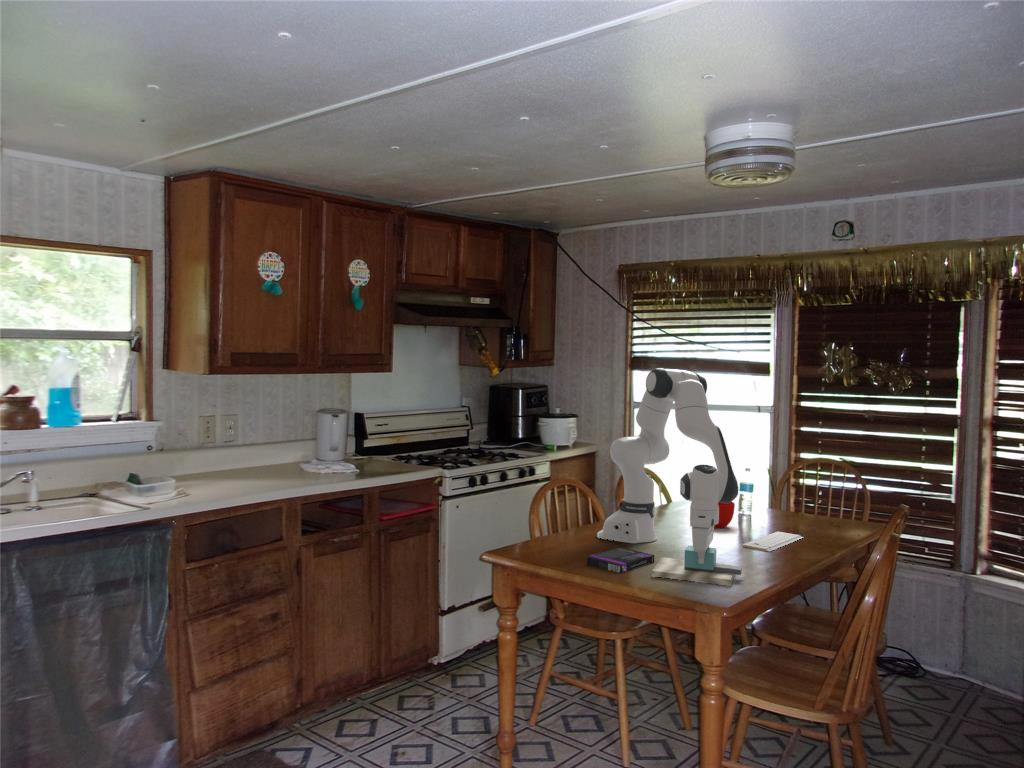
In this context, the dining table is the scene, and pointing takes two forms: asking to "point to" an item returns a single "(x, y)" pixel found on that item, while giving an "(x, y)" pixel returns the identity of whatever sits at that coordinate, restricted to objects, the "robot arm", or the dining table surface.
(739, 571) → the grey block
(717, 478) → the robot arm
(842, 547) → the dining table surface
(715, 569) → the grey block
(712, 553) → the block
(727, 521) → the red bowl
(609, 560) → the box
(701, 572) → the board
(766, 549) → the white spiral notebook
